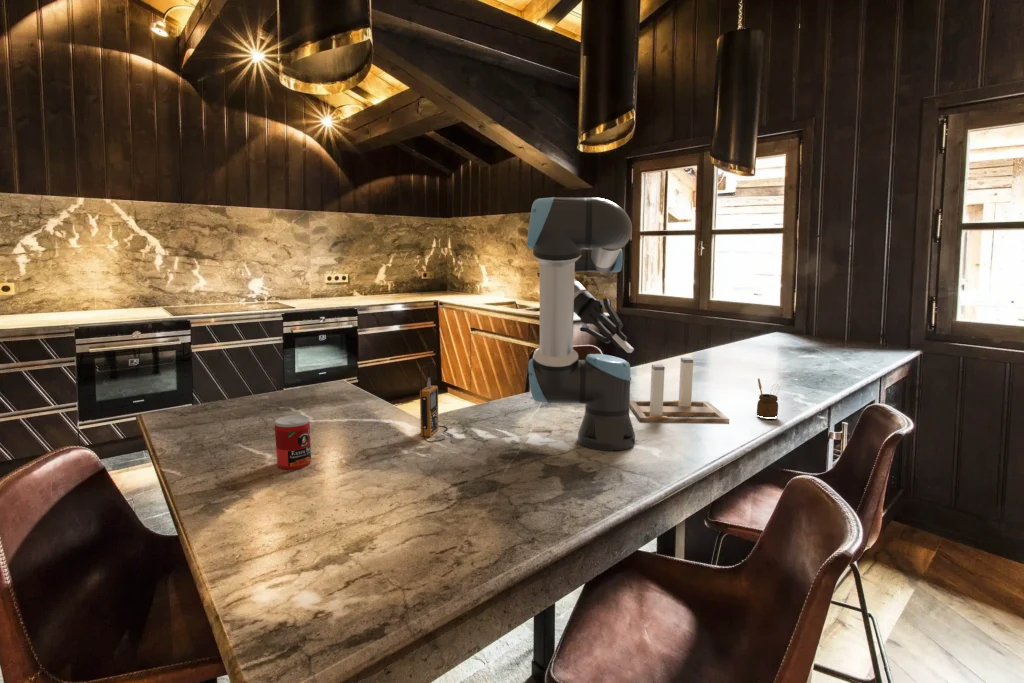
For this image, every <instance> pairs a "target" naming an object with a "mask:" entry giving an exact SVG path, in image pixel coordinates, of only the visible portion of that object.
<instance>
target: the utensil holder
mask: <svg viewBox="0 0 1024 683" xmlns="http://www.w3.org/2000/svg"><path fill="white" fill-rule="evenodd" d="M757 384H758V387H759V390H760V394H759V395H758V401H757V405H756V406H757V407H756V416H757V415H759V416H763V417H775V416H777V415H779V402H778V395H779V392H780V385H779V384H777V383H776V385H775V383H774V384H773V385H772V388H770V391H769V392H773V393H763V390H762V388H763V387H762V382H761V379H760V378H757ZM773 388H776V389H777V388H778V389H777V391H776V389H774V390H773ZM777 417H778V416H777Z"/></svg>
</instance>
